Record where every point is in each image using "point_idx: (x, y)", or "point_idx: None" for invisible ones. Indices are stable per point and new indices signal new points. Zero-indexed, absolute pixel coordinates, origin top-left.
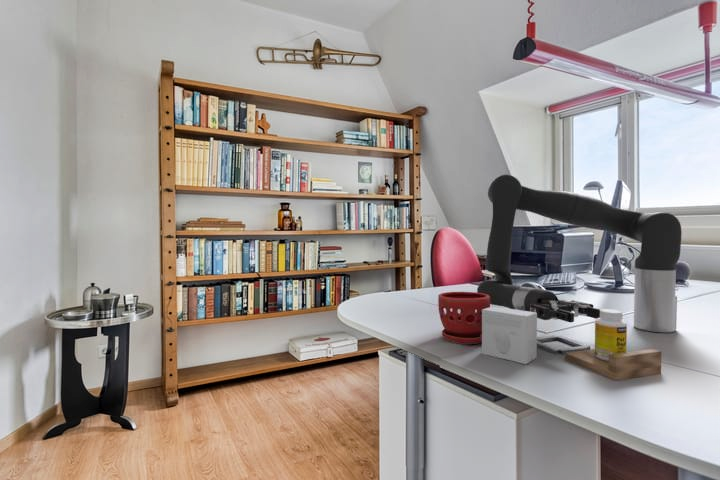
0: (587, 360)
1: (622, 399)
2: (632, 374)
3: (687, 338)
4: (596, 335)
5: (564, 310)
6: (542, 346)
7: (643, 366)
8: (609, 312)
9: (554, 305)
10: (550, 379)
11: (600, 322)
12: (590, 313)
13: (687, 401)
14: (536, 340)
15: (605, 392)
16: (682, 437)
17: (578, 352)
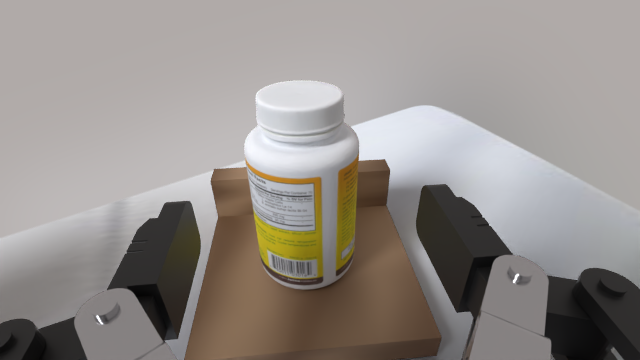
0: (397, 258)
1: (427, 166)
2: None
3: None
4: (355, 200)
5: (457, 227)
6: None
7: None
8: (332, 85)
9: (512, 322)
10: (550, 236)
11: (357, 137)
12: (177, 290)
13: None
14: (612, 350)
15: (442, 182)
16: (419, 118)
17: (374, 329)
